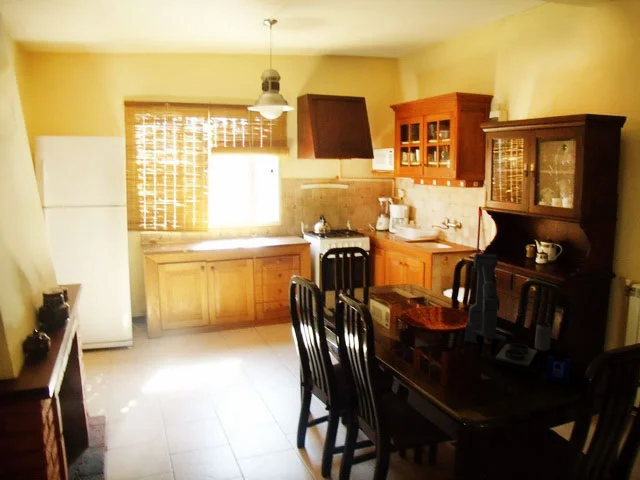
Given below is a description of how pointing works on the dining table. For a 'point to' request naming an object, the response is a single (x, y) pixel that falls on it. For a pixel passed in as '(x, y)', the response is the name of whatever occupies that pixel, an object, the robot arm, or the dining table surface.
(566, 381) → the bracket
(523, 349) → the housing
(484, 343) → the tan rounded capsule
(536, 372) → the dining table surface
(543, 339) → the can
